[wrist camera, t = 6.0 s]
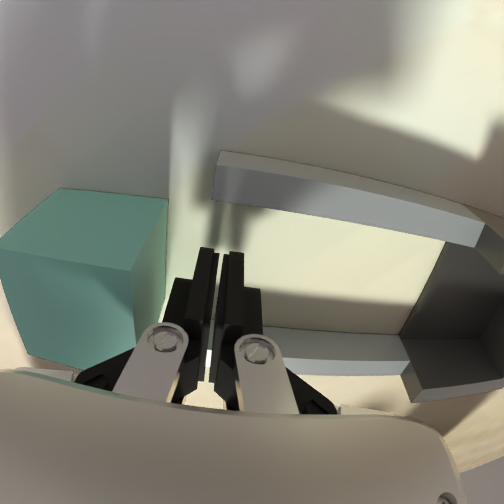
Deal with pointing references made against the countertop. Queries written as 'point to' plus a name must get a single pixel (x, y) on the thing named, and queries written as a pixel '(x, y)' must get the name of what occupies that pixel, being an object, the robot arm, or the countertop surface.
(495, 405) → the countertop surface
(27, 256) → the teal block
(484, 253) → the channel
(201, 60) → the countertop surface
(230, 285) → the robot arm
